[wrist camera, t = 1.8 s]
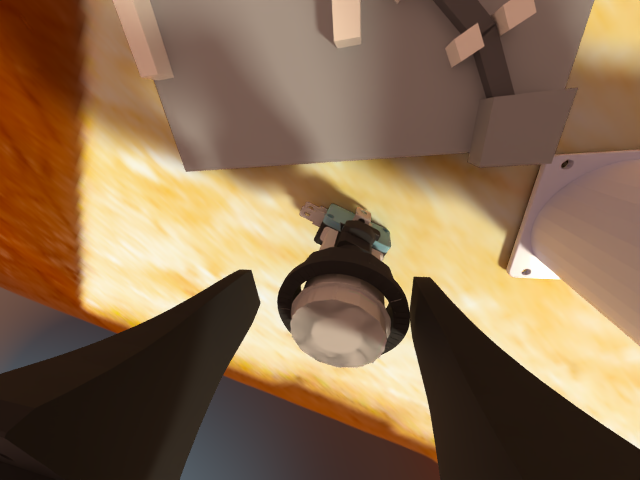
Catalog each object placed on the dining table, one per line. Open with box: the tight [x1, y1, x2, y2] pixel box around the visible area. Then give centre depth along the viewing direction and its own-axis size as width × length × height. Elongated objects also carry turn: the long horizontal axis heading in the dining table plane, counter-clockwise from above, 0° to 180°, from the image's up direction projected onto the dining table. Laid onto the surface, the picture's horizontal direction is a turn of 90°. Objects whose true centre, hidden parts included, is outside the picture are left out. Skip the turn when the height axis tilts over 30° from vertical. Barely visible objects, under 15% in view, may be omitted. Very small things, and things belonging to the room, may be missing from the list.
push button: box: [277, 202, 410, 367], centre depth 13 cm, size 7×5×10 cm
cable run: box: [395, 0, 578, 167], centre depth 10 cm, size 4×11×2 cm, turn 37°
